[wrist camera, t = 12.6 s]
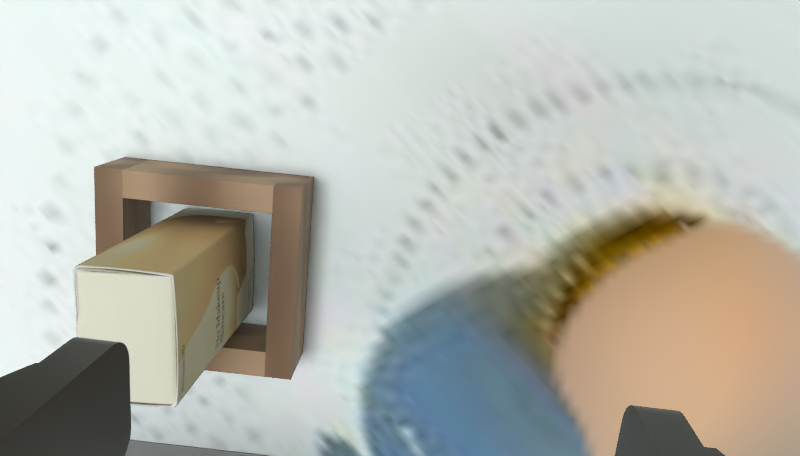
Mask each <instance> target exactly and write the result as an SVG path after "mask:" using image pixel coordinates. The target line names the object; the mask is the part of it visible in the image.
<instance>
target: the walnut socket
mask: <svg viewBox="0 0 800 456" xmlns="http://www.w3.org/2000/svg"><path fill="white" fill-rule="evenodd" d="M94 180H95V224H96V255H98V254H100V253H102V252H104V251H106V250H108V249H109V248H111V247H113V246H115V245H117V244H119V243H121V242H123V241H125V240H127V239H128V238H130V237H132V236H134V235H136V234H138V233H140V232H142V231H144V230H146V229H148V228H150V201H157V202H167V203H176V204H186V205H195V206H205V207H214V208H224V209H233V210H243V211H252V212H262V213H271V214H272V228H271V249H270V269H269V290H268V311H267V326H262V325H253V324H244V323H241V324H240V325H239V327H238V328H237V329H236V330H235V332H234V333H233V334H232V335H231V337H230V338H229V339H228V340H227V342H226V343H225V344H224V346H223V347H222V348H221V349H220V351H219V352H218V353H217V354H216V356H215V357H214V358H213V359H212V361H211V362H210V363H209V365H208V366H207V367H206V369H205V370H209V371H218V372H227V373H236V374H245V375H254V376H263V377H272V378H281V379H290V380H291V378H292V375H293V373H294V371H295V369H296V366H297V364H298V362H299V360H300V357H301V355H302V353H303V338H304V322H305V307H306V291H307V275H308V260H309V244H310V228H311V213H312V197H313V181H314V177H309V176H299V175H290V174H280V173H270V172H261V171H251V170H242V169H232V168H223V167H213V166H203V165H194V164H184V163H175V162H165V161H155V160H146V159H136V158H127V157H124V158H121V159H118V160H115V161H111V162H108V163H105V164H102V165H99V166H96V167H94Z"/></svg>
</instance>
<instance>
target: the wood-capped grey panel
mask: <svg viewBox="0 0 800 456" xmlns="http://www.w3.org/2000/svg"><path fill="white" fill-rule="evenodd" d="M125 456H266V455H257V454H248V453H240V452H231V451H222V450H213V449H204V448H196V447H187V446H178V445H169V444H160V443H152V442H143V441H134V440H129V444H128V448H127V451H126V454H125Z"/></svg>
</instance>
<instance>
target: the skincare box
mask: <svg viewBox="0 0 800 456" xmlns="http://www.w3.org/2000/svg"><path fill="white" fill-rule="evenodd" d="M73 272H74V288H75V305H76V332H77V337H81V338H89V339H97V340H106V341H114V342H121V343H124V344H125V345H126V347H127V349H128V353H129V364H130V405H138V406H155V407H159V406H163V407H176V406H177V405H178V403H179V402H180V400H181V399H182V398H183V397H184V395H185V394H186V393H187V391H188V390H189V389H190V388H191V386H192V385H193V384H194V382H195V381H196V380H197V379H198V377H199V376H200V375H201V373H202V372H203V371H204V370H205V369H206V367H207V366H208V365H209V363H210V362H211V361H212V359H213V358H214V357H215V356H216V354H217V353H218V352H219V351H220V349H221V348H222V347H223V346H224V344H225V343H226V342H227V340H228V339H229V338H230V337H231V335H232V334H233V333H234V332H235V330H236V329H237V328H238V327H239V325H240V324H241V323H242V321H243V320H244V319H245V318H246V316H247V315H248V314H249V313H250V311H251V310H252V303H253V277H254V248H253V216H252V214H249V213H239V212H228V211H217V210H202V209H183V210H181V211H179V212H178V213H176V214H174V215H172V216H170V217H168V218H166V219H164V220H162V221H161V222H159V223H157V224H155V225H153V226H151V227H150V228H148V229H146V230H144V231H142V232H140V233H138V234H136V235H134V236H132V237H130V238H128V239H127V240H125V241H123V242H121V243H119V244H117V245H115V246H113V247H111V248H109V249H108V250H106V251H104V252H102V253H100V254H98V255H96V256H94V257H92V258H90V259H88V260H86V261H85V262H83V263H81V264H79V265H77V266H75V268H74V271H73Z"/></svg>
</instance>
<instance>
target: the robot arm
mask: <svg viewBox="0 0 800 456" xmlns="http://www.w3.org/2000/svg"><path fill="white" fill-rule="evenodd" d="M130 433H131V407H130V364H129V353H128V349H127V347H126V345H125V344H124V343H121V342H114V341H106V340H97V339H89V338H81V337H75V338H73V339H71V340H69V341H68V342H67V343H65V344H64V345H63V346H61V347H60V348H59V349H57V350H56V351H55V352H53V353H52V354H50V355H49V356H48V357H46V358H45V359H44V360H42V361H41V362H40V363H34V364H32V365H30V366H27V367H25V368H22V369H20V370H17V371H15V372H12V373H10V374H7V375H5V376H3V377H1V378H0V456H125V454H126V451H127V448H128V444H129V440H130ZM615 456H725V455H723V454H722V453H721V452H720V451H719V450H717V449H716V448H707V447H703V445H702V444H701V442H700V440H699V439H698V437H697V436H696V434H695V432H694V431H693V429H692V428H691V426H690V424H689V423H688V421H687V420H686V418H685V416H684V415H683V414H682V413H681V412H679V411H674V410H665V409H657V408H648V407H641V406H632V405H631V406H628V408H627V409H626V411H625V413H624V416H623V419H622V424H621V428H620V433H619V439H618V443H617V448H616V454H615Z"/></svg>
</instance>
